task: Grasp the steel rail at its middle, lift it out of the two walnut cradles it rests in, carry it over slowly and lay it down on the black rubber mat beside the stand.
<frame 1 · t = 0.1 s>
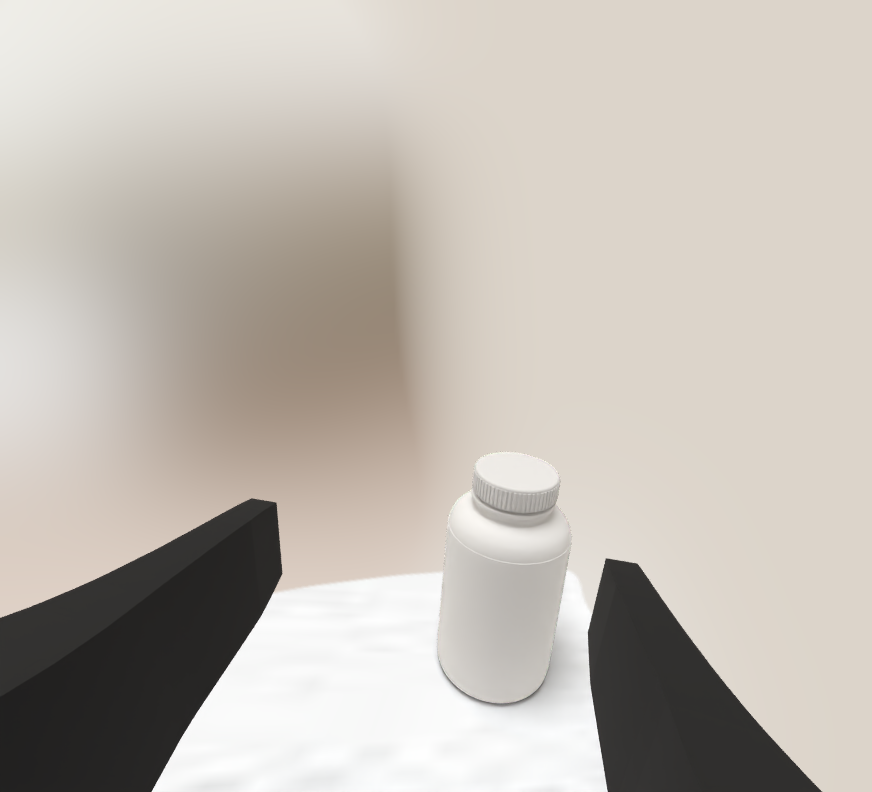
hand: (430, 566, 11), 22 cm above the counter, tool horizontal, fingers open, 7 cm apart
pill bottle: (492, 659, 35), on the counter
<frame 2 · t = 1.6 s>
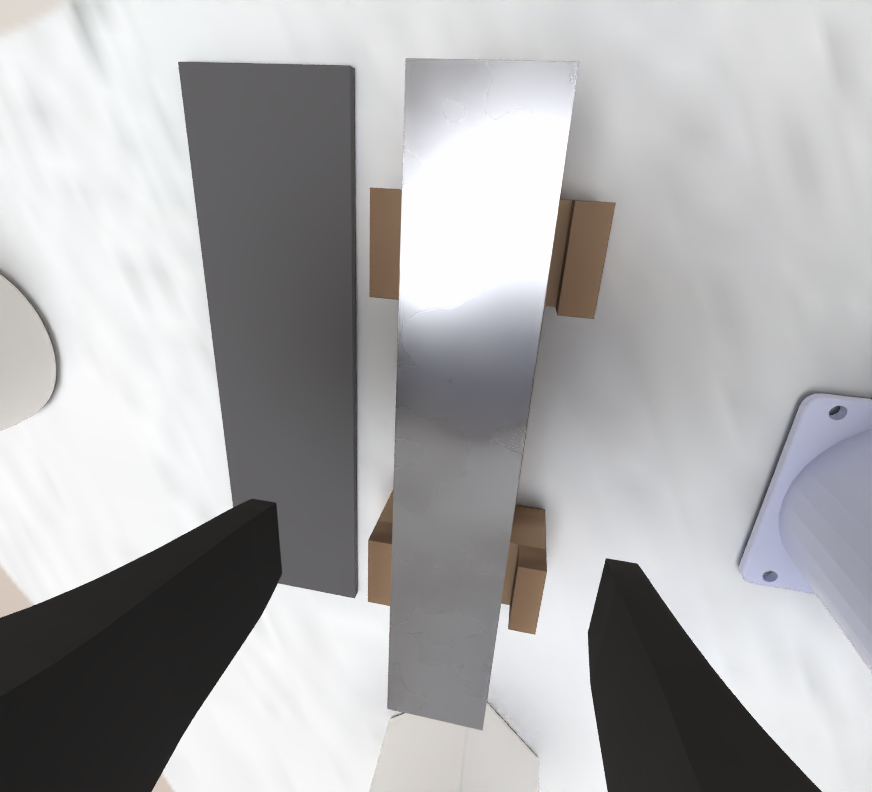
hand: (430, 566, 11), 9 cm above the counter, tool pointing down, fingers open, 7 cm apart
stand: (477, 401, 19), on the counter
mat: (287, 377, 20), on the counter
milk: (463, 734, 27), on the counter
rail: (469, 429, 17), point 2 cm above the counter, touching stand
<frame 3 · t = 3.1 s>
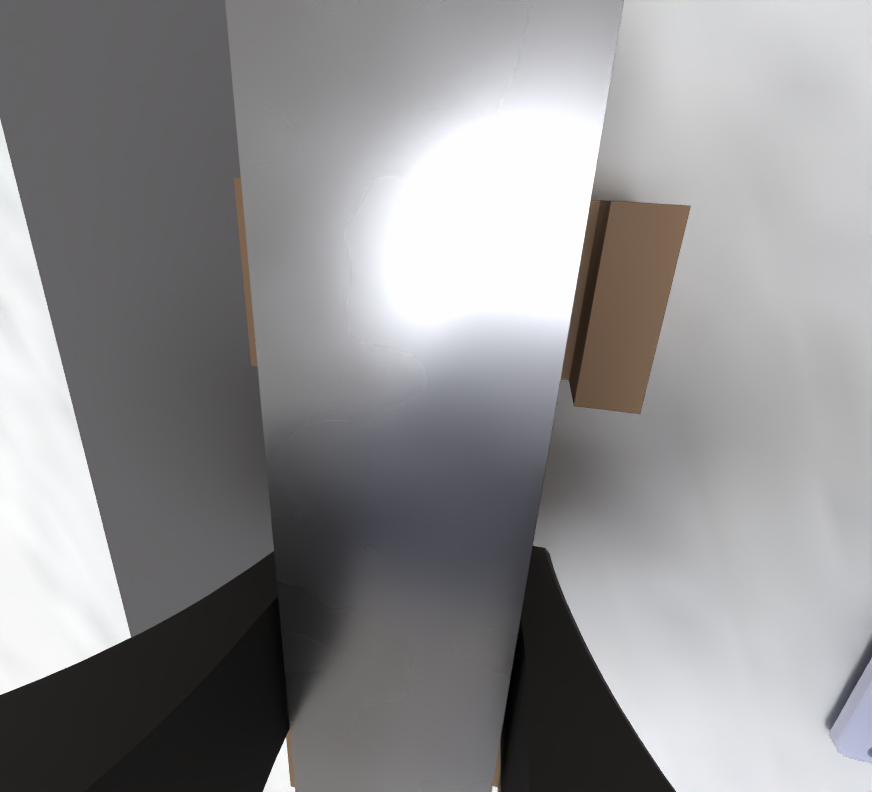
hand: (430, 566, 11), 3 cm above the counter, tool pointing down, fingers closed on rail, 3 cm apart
stand: (450, 494, 13), on the counter
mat: (182, 452, 14), on the counter
rail: (432, 556, 11), point 2 cm above the counter, touching gripper, stand
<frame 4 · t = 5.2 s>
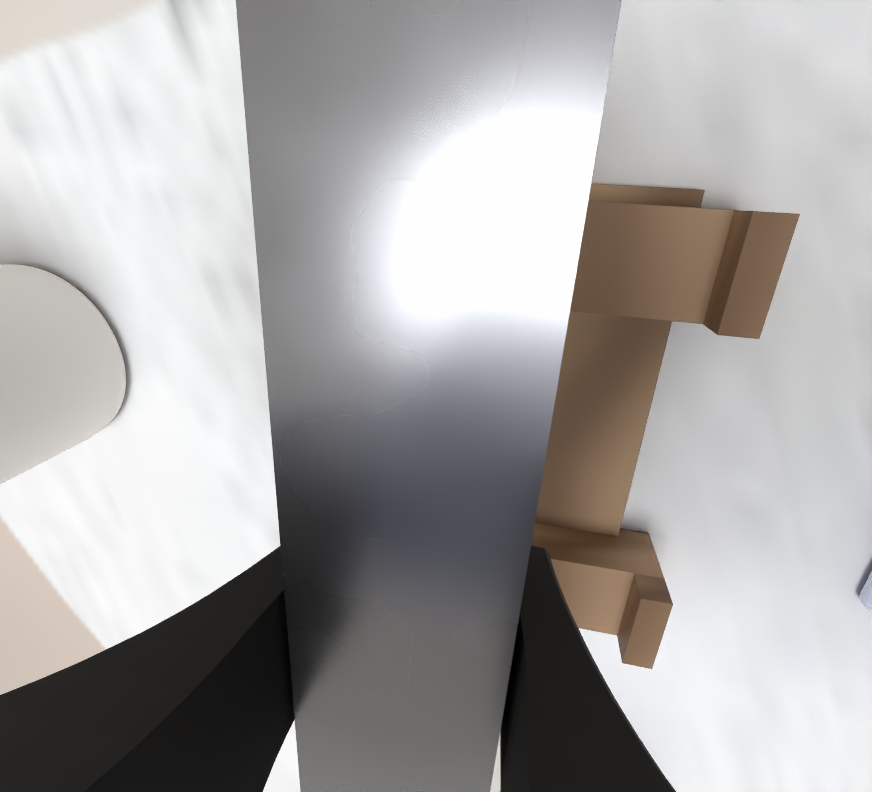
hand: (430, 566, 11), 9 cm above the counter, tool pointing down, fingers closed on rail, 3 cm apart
stand: (584, 420, 18), on the counter
milk: (537, 760, 26), on the counter
pill bottle: (56, 350, 22), on the counter
rail: (434, 551, 11), point 8 cm above the counter, touching gripper
when the fingers open (2 cm above the counter, at t = 7.7 s): rail drops 1 cm, resting on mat.
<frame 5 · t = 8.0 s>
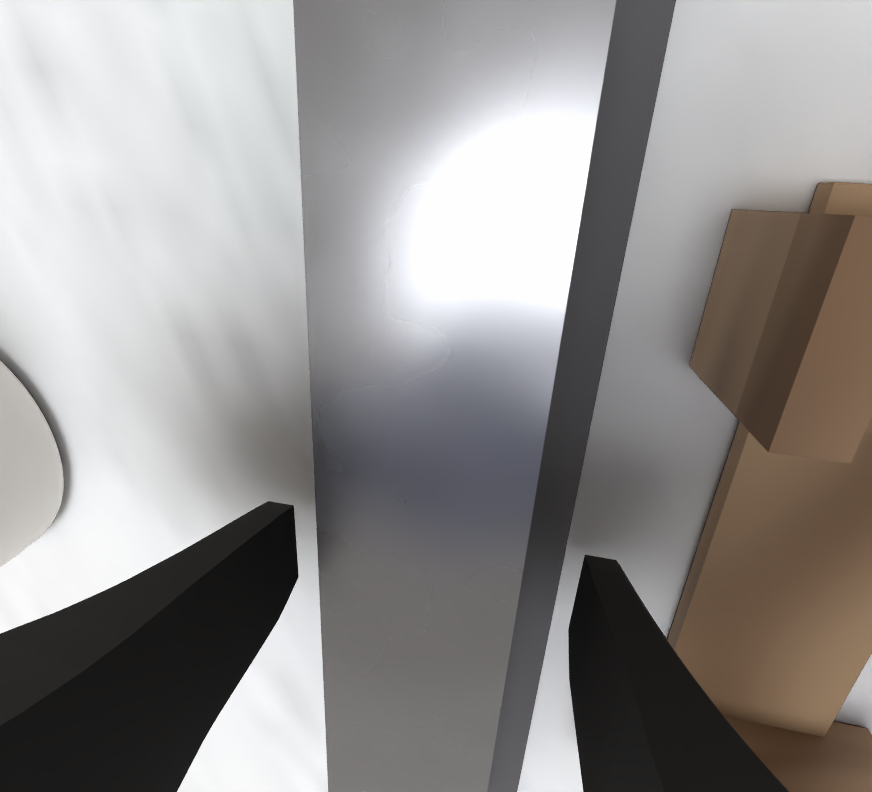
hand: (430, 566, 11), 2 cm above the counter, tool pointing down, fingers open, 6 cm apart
stand: (788, 567, 11), on the counter
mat: (445, 511, 12), on the counter
rail: (444, 522, 12), resting on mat
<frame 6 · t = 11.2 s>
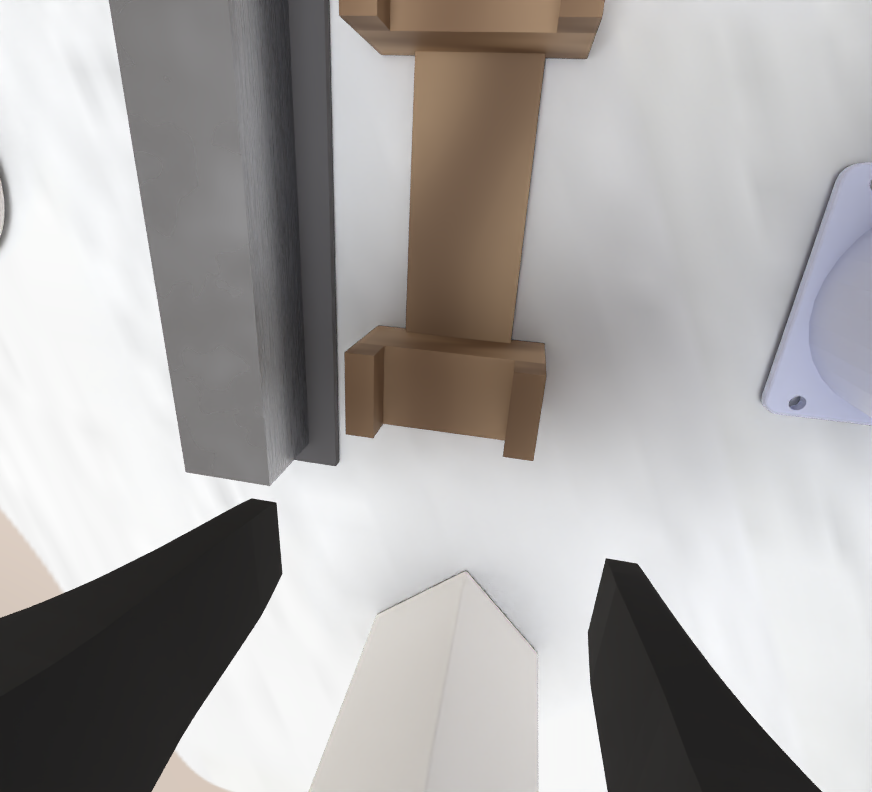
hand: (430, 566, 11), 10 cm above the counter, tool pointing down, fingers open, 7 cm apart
stand: (468, 209, 17), on the counter
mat: (257, 195, 18), on the counter
milk: (455, 630, 25), on the counter
rail: (253, 196, 18), resting on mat
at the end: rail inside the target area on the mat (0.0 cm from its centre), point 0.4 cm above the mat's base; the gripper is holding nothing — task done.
